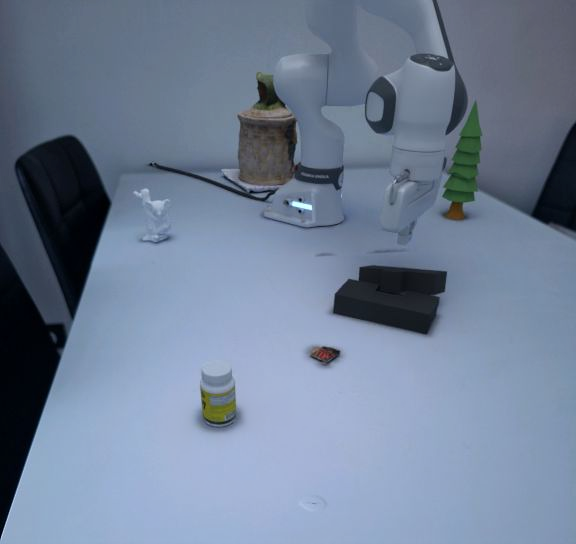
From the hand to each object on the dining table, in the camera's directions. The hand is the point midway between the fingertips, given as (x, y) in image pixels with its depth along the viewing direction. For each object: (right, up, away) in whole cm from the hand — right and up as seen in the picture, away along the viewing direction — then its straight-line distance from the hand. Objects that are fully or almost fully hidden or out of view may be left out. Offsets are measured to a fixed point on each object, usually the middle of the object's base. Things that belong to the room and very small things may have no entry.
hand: (404, 242), depth 100 cm
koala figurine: (-54, +9, +32) cm, 64 cm away
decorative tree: (+26, +22, +53) cm, 63 cm away
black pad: (0, -8, +5) cm, 10 cm away
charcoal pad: (-3, -13, +1) cm, 14 cm away
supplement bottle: (-31, -31, -25) cm, 51 cm away
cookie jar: (-29, +42, +79) cm, 94 cm away
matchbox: (-16, -22, -11) cm, 29 cm away
